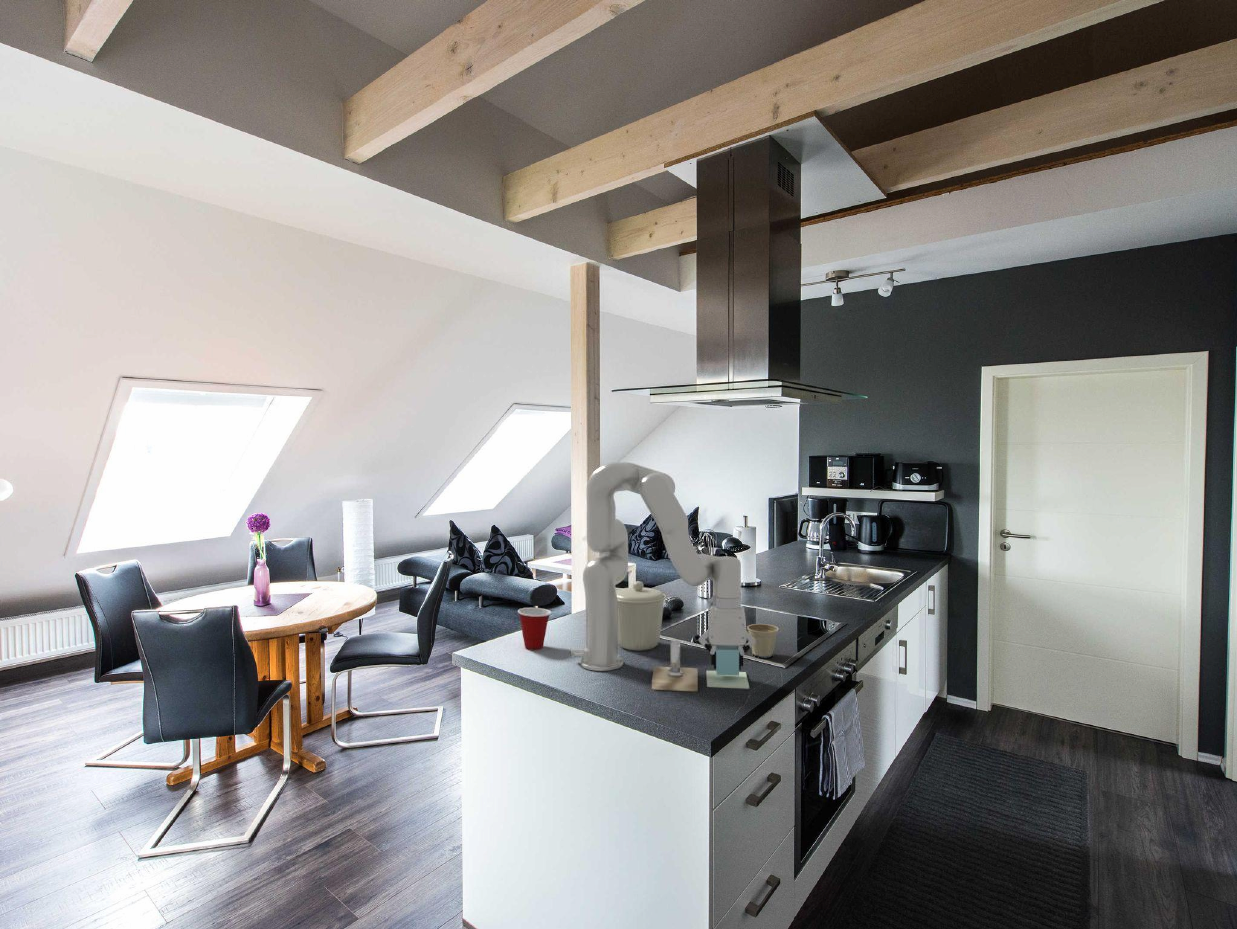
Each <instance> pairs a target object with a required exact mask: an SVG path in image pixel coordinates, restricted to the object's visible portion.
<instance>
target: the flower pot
mask: <svg viewBox="0 0 1237 929" xmlns="http://www.w3.org/2000/svg"><path fill="white" fill-rule="evenodd" d="M746 630H748V633H749V634H750V635H751V636H752V637H753V638H754V639H755V641H756V643H755V644H754V645H753V646H752V647H751V652H752V655H753V654H754V655H759V656H767V655H772V654H773V653H774V652H775V644H776V638H777V637H776V636H778V635H777V634H778V631H779V627H777V626H776V625H772V624H767V623H766V624H765V623H756V624H755V623H754V624H749V625H748V626H746ZM773 655H774V654H773Z"/></svg>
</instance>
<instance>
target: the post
mask: <svg viewBox="0 0 1237 929" xmlns="http://www.w3.org/2000/svg"><path fill="white" fill-rule="evenodd" d="M670 667H671V669H669V670H668V676H670V677H681V676H683V671H682V670H680V668H681V641H680V640H677V639H675V640H671V641H670Z"/></svg>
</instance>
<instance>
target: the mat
mask: <svg viewBox="0 0 1237 929" xmlns="http://www.w3.org/2000/svg"><path fill="white" fill-rule="evenodd" d="M705 674H706V687H707V688H724V689H727V688H728V689H747V690H749V689H750V685H749V681H748V677H747V672H746V671H739V676H734V675H716V670H706V673H705Z"/></svg>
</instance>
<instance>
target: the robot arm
mask: <svg viewBox="0 0 1237 929" xmlns="http://www.w3.org/2000/svg"><path fill="white" fill-rule="evenodd" d="M625 491H626V492H627V491H628V492H631V493H635V494H638V495H640V496H641V500H642V501H643V502H644V504H645V506H646V507H647V510H649V513H650V515H651V516H652V518H653V520H654V521H655V523H656V525H657V527H658V528H659V531H660V532H661V537H662V541H663V544H664V547H665V550H666V552H667V555H668V557H669V560H670V561H671V563H672V565H673V567H674V568H675V570H676V572H677V573H678V575H679V577H680V579H681V580H682V581H683V582H684V583H685V584H687V585H689V586H691V587H699V586H701V585H704V583H705V582H706V583H707V582H708V581H712V591H713V592H712V597H707V603H708V604H712V605H711V606H710V610H709V614H708V625H707V626H708V629H707V630H706V631H705V632H703V634H702V635H700V637H699V638H698V642H699V643H700V645H702V646H703V647H704V649H705V650H707V651H708V652H709V653H710V665H711V666H713V670H716V648H717V646H737V647H738V649H739V671H742V667H744V656H745V654H746V653H747V652H748V651H749V650H750V649H752V646H753V645H754V644H755V643H756V641H755V639H754V638H753V637H752V636H751V635H750V634H749V631H747V625H746V624H747V623H746V621H747V620H746V613H745V610H744V609H745V608H744V607H743V606H742V563H741V560H740V559H739V558H738V557H734V556H715V555H711V554H706V553H697V551H696V549H695V547H694V545H693V543H692V541H691V538H690V534H689V520H688V515H687V514H686V512H685V510H684V509H683V507H682V505H681V503H680V502H679V500H678V499H677V497H676V495H675V493H676V483H675V480H674V479H673V477H671V476H670V475H669V474H667V473H665V472H661V471H658V470H655V469H651V468H649V467H646V466H642V465H639V464H636V463H633V462H626V461H625V462H619V461H618V462H609V463H606V464H603V465H601V466H600V467H598V468H597V469H595V470H593V472H592V474H591V475H590V477H589V479H588V481H587V483H586V543H587V546H588V548H589V549H590V550H591V551H592V552H594V553H599V554H598V557H595V558H593V559H591V560H590V561H589V562H588V563H587V564H586V565H585V567H584V570H583V574H582V583H583V589H584V597H585V598H584V599H585V601H584V602H585V647H584V648H583V647H582V648H581V649H579V648H571V653H570V654H571V656H573V657H574V658H581V659H580V666H581V667H582V668H584V669H585V670H589V671H597V672H607V671H614V670H617V669H619V668H622V666H623V665H624V659H623V658H622V657H620V656H619V643H618V601H617V594H616V591H617V590H616V585H618V584H619V583H621V582H622V581H623V580H624V579H625V578H626V577H627V574H628V572H629V571H628V570H629V536H628V530H627V528H626V525H625V524H624V522H622V521H621V520H620V519H617V518H616V517H617V516H616V512H617V511H616V510H617V509H616V501H615V497H614V496H615V494H616V493H617V492H625ZM707 639H708V641H707ZM747 640H748V642H747Z"/></svg>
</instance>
